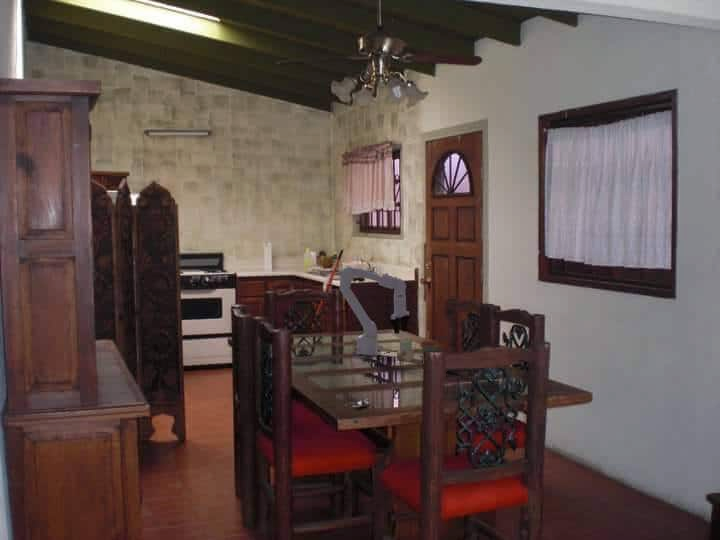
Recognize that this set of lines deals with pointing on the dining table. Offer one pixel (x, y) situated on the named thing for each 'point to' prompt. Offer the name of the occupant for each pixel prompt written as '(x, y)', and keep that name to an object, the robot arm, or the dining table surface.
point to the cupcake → (429, 344)
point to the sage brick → (406, 346)
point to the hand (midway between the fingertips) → (400, 332)
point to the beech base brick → (405, 356)
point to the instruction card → (388, 354)
